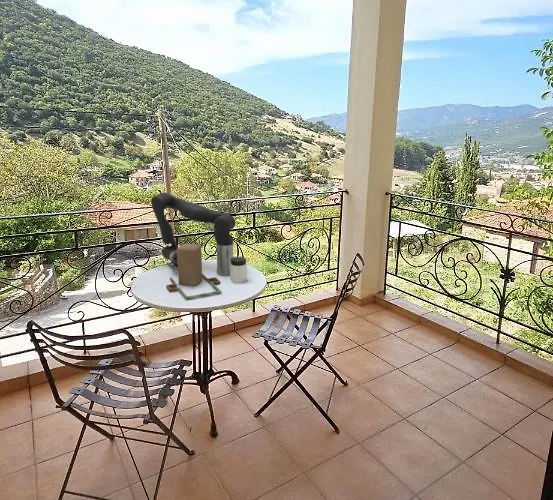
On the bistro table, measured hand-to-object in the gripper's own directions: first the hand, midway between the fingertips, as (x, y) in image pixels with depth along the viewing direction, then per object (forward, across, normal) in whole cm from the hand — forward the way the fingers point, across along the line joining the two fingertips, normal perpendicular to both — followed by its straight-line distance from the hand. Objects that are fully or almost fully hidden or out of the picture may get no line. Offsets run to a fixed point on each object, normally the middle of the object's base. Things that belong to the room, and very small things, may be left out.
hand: (186, 267), depth 209 cm
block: (+7, 0, +7) cm, 9 cm away
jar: (+15, +24, +7) cm, 29 cm away
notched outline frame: (+14, 0, +7) cm, 15 cm away
